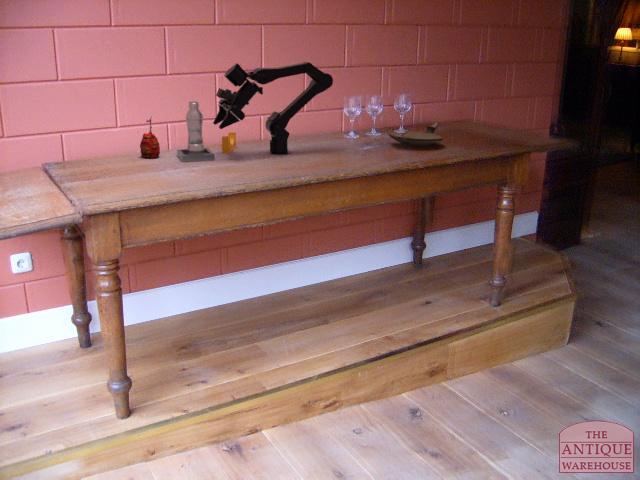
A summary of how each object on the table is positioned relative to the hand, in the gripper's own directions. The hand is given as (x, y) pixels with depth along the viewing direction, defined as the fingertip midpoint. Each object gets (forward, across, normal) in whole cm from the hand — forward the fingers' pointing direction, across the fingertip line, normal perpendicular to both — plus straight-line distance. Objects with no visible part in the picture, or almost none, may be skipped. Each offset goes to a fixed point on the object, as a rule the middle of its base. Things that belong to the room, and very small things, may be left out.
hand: (216, 126), depth 249 cm
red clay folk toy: (+26, -7, -9) cm, 28 cm away
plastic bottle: (+14, 0, +2) cm, 14 cm away
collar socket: (+14, 0, +2) cm, 14 cm away
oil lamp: (-52, +4, +70) cm, 87 cm away
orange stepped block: (+4, -11, +13) cm, 18 cm away
